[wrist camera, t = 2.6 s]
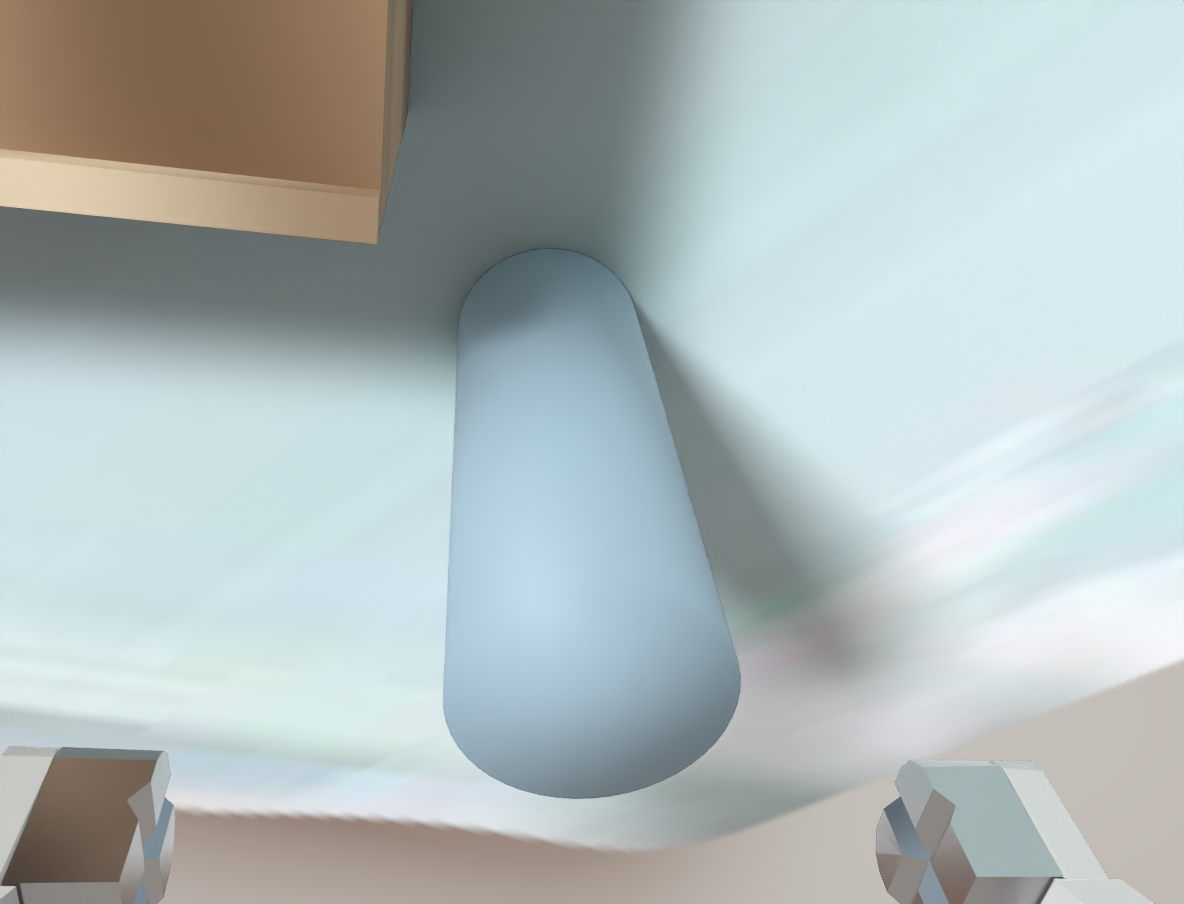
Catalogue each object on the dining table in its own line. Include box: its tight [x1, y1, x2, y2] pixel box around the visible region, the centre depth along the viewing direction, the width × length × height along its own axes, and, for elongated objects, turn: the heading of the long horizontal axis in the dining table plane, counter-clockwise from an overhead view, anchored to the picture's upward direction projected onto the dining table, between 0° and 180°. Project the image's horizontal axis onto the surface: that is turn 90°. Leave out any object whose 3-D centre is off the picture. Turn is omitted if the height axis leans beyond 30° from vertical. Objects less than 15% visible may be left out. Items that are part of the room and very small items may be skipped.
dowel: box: [443, 249, 741, 799], centre depth 17 cm, size 4×4×10 cm
